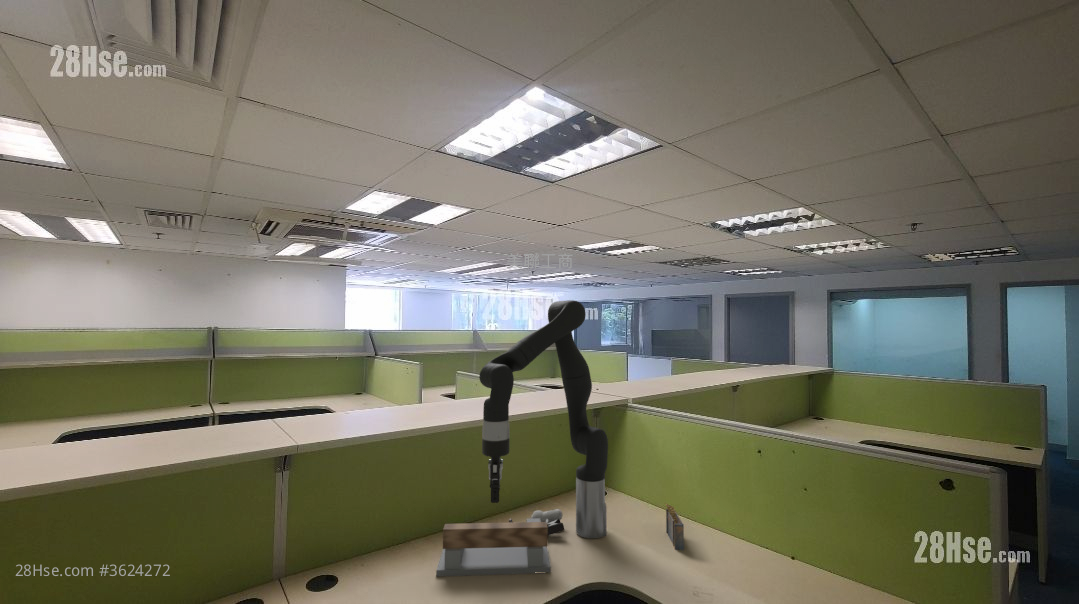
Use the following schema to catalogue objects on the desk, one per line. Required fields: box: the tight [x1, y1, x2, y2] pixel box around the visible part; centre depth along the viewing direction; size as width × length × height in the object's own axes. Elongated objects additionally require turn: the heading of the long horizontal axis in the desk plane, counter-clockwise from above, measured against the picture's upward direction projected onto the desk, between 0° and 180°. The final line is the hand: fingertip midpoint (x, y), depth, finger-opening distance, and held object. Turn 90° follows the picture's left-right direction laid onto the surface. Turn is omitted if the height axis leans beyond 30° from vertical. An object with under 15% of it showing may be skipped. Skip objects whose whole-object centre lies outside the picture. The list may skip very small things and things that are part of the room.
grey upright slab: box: [664, 502, 685, 551], centre depth 135 cm, size 11×3×10 cm, turn 176°
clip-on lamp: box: [508, 508, 565, 536], centre depth 141 cm, size 12×6×18 cm
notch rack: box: [435, 518, 552, 577], centre depth 122 cm, size 30×13×9 cm, turn 94°
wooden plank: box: [442, 521, 549, 550], centre depth 119 cm, size 28×4×5 cm, turn 94°
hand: (495, 496), depth 120 cm, fingers open, 8 cm apart
